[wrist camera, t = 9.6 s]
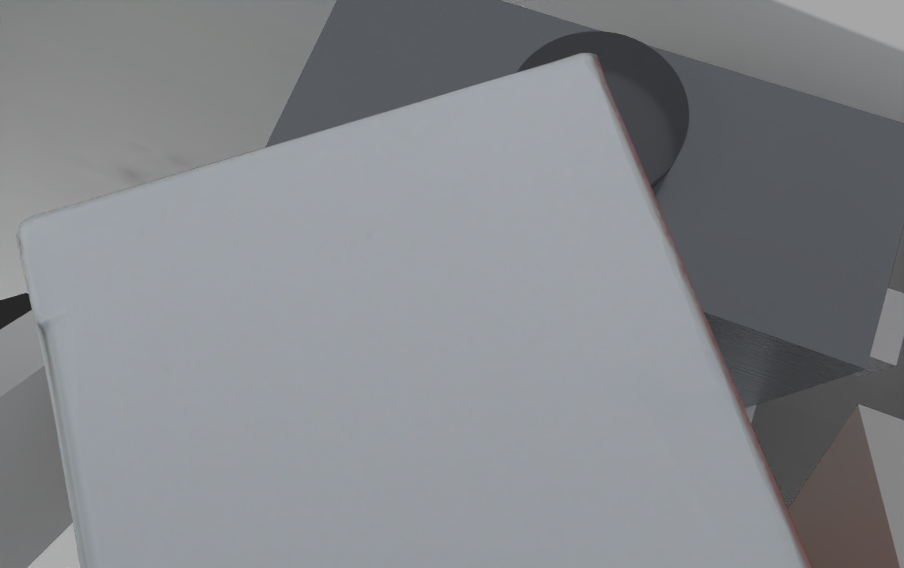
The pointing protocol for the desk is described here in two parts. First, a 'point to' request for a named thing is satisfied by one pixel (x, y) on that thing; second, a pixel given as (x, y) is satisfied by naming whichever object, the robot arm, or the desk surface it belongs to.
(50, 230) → the small box
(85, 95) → the desk surface
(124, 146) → the desk surface
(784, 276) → the grey bin
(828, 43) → the desk surface
